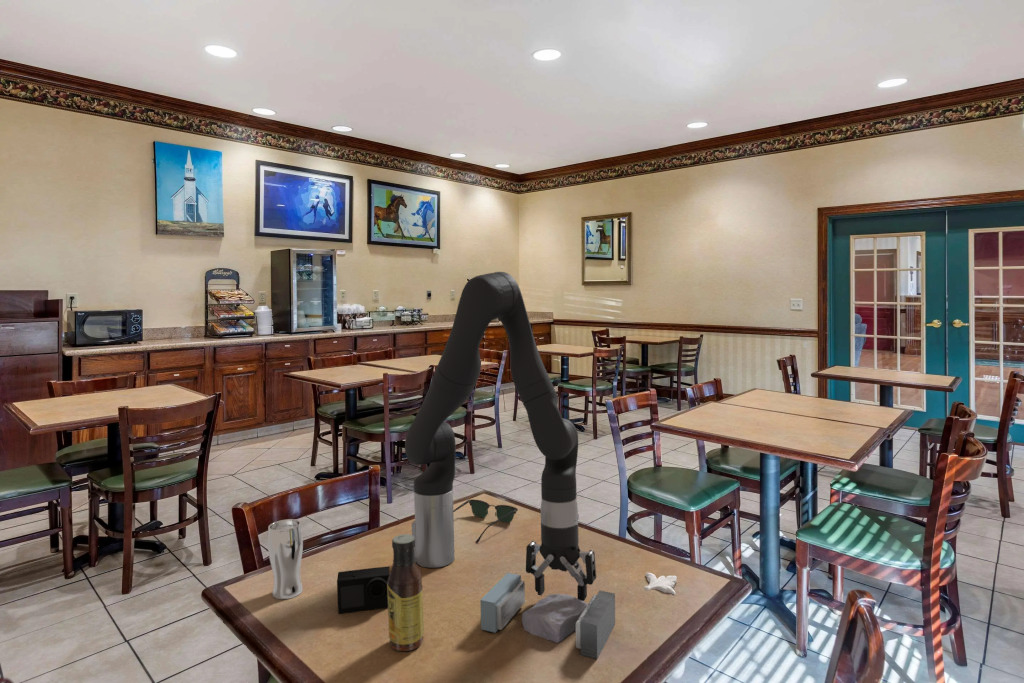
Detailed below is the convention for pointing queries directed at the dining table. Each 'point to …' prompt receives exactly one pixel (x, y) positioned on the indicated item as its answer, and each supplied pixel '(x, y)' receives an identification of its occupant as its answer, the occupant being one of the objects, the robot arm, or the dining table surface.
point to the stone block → (553, 617)
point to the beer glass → (286, 557)
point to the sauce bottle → (405, 596)
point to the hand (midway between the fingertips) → (560, 597)
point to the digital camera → (362, 589)
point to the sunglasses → (481, 510)
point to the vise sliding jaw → (502, 602)
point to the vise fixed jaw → (595, 624)
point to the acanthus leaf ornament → (661, 583)
